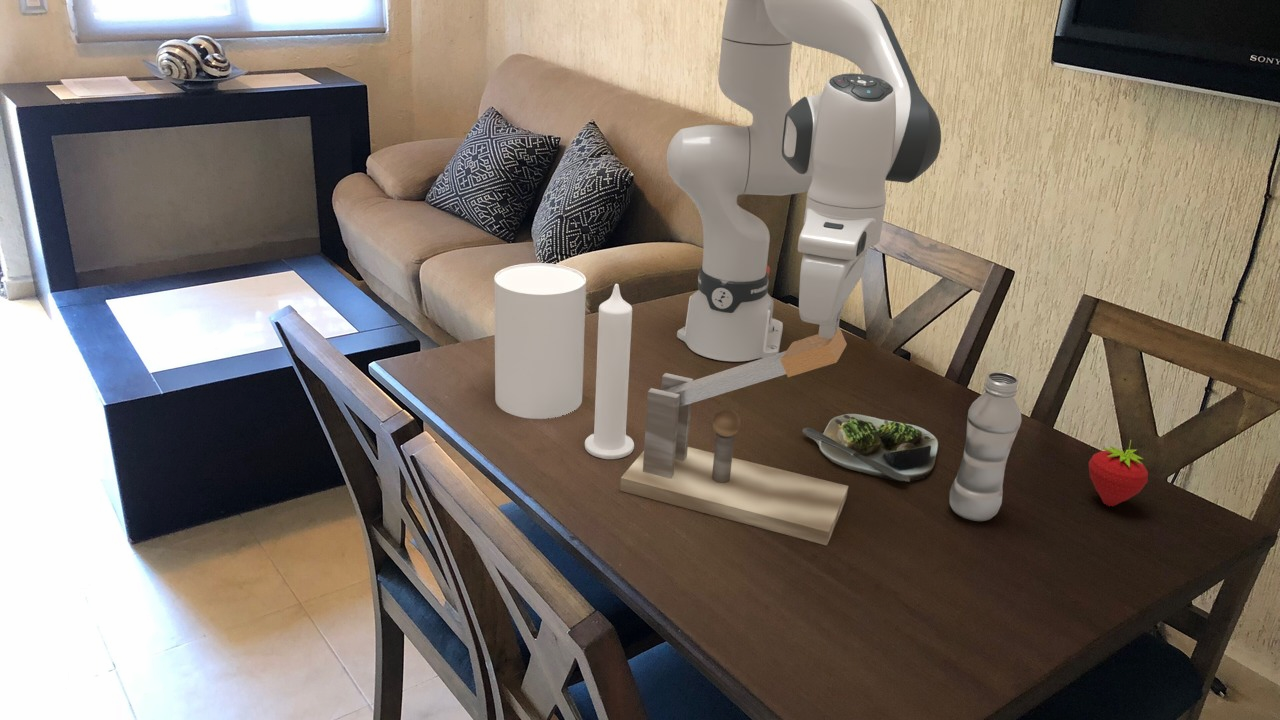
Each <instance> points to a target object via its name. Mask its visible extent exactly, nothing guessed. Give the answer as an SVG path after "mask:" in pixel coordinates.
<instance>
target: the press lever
mask: <svg viewBox="0 0 1280 720" xmlns="http://www.w3.org/2000/svg"><path fill="white" fill-rule="evenodd" d="M847 344H848V343H847V341H846V338H845V337H844V334H843V332H842V329H841V328H840V326H839V327H838V330H837V331H836V333H835V335H834V336H833V338H832V339H827V338H821V337H820V336H819V333H817V334H814V335H809V336H807V337H804V338H800V339H797V340H795V341H792V342H791V344H790V345H789V347H788V348H787V350H784V351H782V352H779V353H778V354H775V355H772V356H768V357H765V358H758V359H757V360H756V359H755V360H754V361H753V360H752V361H750V362H747V363H744V364H741V365H737V366H735V367H731V368H729V369H725V370H722V371H719V372H716V373H713V374H710V375H706V376H703V377H699V378H697V379H693V381H690V382H687V383H684V384H681V385H678V386H675V387H672V388H668V389H665V390H662V391H666V392H671V393H675V394H680V400H679V407H681V406H684V405H687V404H691V405H692V404H693V403H696V402H700V401H703V400H707V399H709V398H713V397H716V396H720V395H723V394H726V393H729V392H733V391H736V390H739V389H743V388H746V387H749V386H753V385H755V384H758V383H761V382H765V381H768V380H772V379H774V378H778V377H781V376H785V375H786V377H787V378H791V377H794V376H797V375H800V374H804V373H806V372H810V371H813V370H816V369H820V368H823V367H827V366H829V365H832V364H833V365H834V364H836V363H837V362H838V361H839V359H840V357H841V356H842V354H843V352H844V350H845V349H846V347H847Z"/></svg>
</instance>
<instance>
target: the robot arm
mask: <svg viewBox="0 0 1280 720" xmlns="http://www.w3.org/2000/svg"><path fill="white" fill-rule="evenodd" d="M899 42H900V41H899V40H898V38H897V35H896V34H895V31H894V30H893V28H892V25H891V22H890V21H889V19H888V17H887V15H886V14H885V12H884V10H883V9H882V8H881V6H879V5H878V4H877V3H876V2H874V1H873V0H727V1H726V7H725V11H724V16H723V24H722V33H721V43H720V53H719V54H720V55H719V65H718V66H719V68H718V80H717V82H718V85H719V89H720V91H721V93H722V94H723V95H724V96H725V98H727V99H728V100H730V101H731V102H733V103H734V104H736V105H738V106H739V107H741V108H743V109H745V110H746V111H747V112H749V113H750V114H751V115H752V123H751V125H747V126H741V125H739V126H737V125H722V124H721V125H719V124H703V125H695V126H690V127H684V128H681V129H680V130H678V131H677V132H676V133H675V134H674V136H673V137H672V138H671V140H670V142H669V144H668V147H667V151H666V158H665V160H666V167H667V171H668V174H669V176H670V178H671V179H672V181H673V183H674V184H675V185H677V187H679V189H681V190H682V191H683V192H684V193H685V194H686V195H687V196H688V197H689V198H690V200H691V201H692V202H693V203H694V205H695V207H696V209H697V211H698V212H699V216H700V218H701V219H700V220H701V223H702V229H703V230H702V231H703V234H702V235H703V251H702V252H703V253H702V254H703V255H702V264H701V265H702V266H700V268H699V273H698V275H697V282H698V283H697V288H698V290H697V291H695V292H694V293H692V294H691V295H690V296H689V299H688V305H687V313H686V320H685V326H683V327H682V328H680V329H678V330H677V332H676V337H677V338H678V339H680V340H681V341H683V342H684V343H685V345H687V347H688V348H689V349H690V350H691V351H692V352H693V353H695V354H697V355H700V356H702V357H704V358H708V359H713V360H715V361H716V360H717V361H722V362H746V361H747V362H748V361H753V360H754V361H755V360H756V359H757V360H759V359H762V358H765V357H768V356H772V355H775V354H778V353H780V349H781V344H782V343H781V341H782V335H783V331H784V324H783V323H784V322H783V321H780V320H778V319H776V318H773V314H774V299H773V298H772V297H771V295H770V294H769V293H768V290H769V278H768V277H769V276H770V271H771V268H770V266H769V265H768V258H769V249H770V239H771V237H770V235H771V234H770V231H769V227H768V226H767V225H766V224H765V222H764V221H763V220H762V219H761V218H759V217H758V216H756V215H754V214H753V213H751V212H750V211H747V210H746V209H743V207H741V206H739V204H738V202H737V201H738V196H741V195H756V196H757V195H759V196H760V195H761V196H788V195H795V194H800V193H806V192H807V194H806V204H805V212H804V217H803V224H802V225H803V226H802V228H801V231H800V233H799V235H798V236H799V237H798V241H797V251H798V253H803V255H802V258H801V264H800V273H799V290H798V291H799V293H798V294H799V296H798V313H799V317H800V319H801V321H802V322H804V323H809V324H815V325H819V326H818V327H819V329H818V334H819V336H820V337H821V338H827V339H832V338H833V336H834V335H835V333H836V331H837V330H838V327H840V319H841V315H842V312H843V309H844V305H845V303H846V302H847V300H848V299H849V297H850V295H851V294H852V293H853V291H854V290H855V288H856V286H857V285H858V283H859V281H860V280H861V278H862V277H863V274H864V270H865V265H866V264H865V263H866V257H867V255H868V249H869V248H870V247H874V246H876V245H878V244H879V243H880V241H881V236H882V235H881V234H882V229H883V222H884V216H885V215H884V214H885V207H886V203H887V195H886V181H887V182H897V183H905V184H908V183H909V184H910V183H911V182H912V181H915V180H916V179H917V178H919V177H920V176H921V175H923V174H924V173H925V172H927V170H928V169H930V167H931V166H932V165H933V164H934V163H935V162H936V160H937V158H938V156H939V153H940V149H941V145H942V131H941V124H940V121H939V117H938V115H937V113H936V111H935V110H934V108H933V106H932V105H931V104H930V102H929V101H928V100H927V98H926V97H925V95H924V94H923V93H922V91H921V89H920V87H919V85H918V83H917V81H916V79H915V77H914V74H913V72H912V70H911V67H910V65H909V63H908V61H907V58H906V56H905V53H904V52H903V51H904V50H902V49H903V48H901V45H900V43H899ZM793 43H795V44H798V45H801V46H805V47H808V48H812V49H817V50H819V51H820V50H821V51H824V52H827V53H830V54H833V55H836V56H838V57H841V58H842V59H846V60H847V61H850V62H851V63H853V64H854V65H855V66H857V67H858V68H859V70H861V72H862V73H842V74H837V75H834V76H832V77H830V78H829V79H828V80H827V81H826V82H825V84H824V88H823V90H822V92H820V93H817V94H814V95H809V96H803V97H802V98H800V99H799V100H797V101H796V102H795V103H794V104H793V103H792V100H791V94H790V69H791V56H792V47H793Z"/></svg>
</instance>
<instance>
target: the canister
mask: <svg viewBox="0 0 1280 720" xmlns="http://www.w3.org/2000/svg"><path fill="white" fill-rule="evenodd" d="M493 281H494V282H493V283H494V284H493V285H494V286H493V288H494V295H493V296H494V380H495V381H494V383H495V385H494V389H495V390H494V391H495V393H494V394H495V395H494V399H495V400H494V401H495V403H496V405H497V407H498V408H499V409H500V410H502V411H504V412H505V413H507V414H510V415H511V416H512V415H513V416H516V417H519V418H523V419H532V420H544V419H545V420H546V419H547V420H548V418H549V419H555V417H556V418H559V417H563V416H562V415H564V416H566V414H567V415H569V414H571V413H573V412H575V411H576V410H577V409H579V407H580V406H581V405H582V403H583V390H584V388H583V387H584V385H583V384H584V357H585V355H584V354H585V353H584V352H585V350H584V349H585V327H586V326H585V323H586V321H585V320H586V292H587V277H586V276H585V274H583V273H582V272H581V271H579V270H577V269H575V268H573V267H569V266H565V265H562V264H557V263H556V264H555V263H546V262H529V263H528V262H527V263H520V264H515V265H511V266H508V267H507V266H506V267H505V268H502V269H501V270H498V271H497V272H496V273H495V275H494V278H493ZM574 410H575V411H574ZM572 411H573V412H572ZM570 412H571V413H570ZM568 413H569V414H568Z"/></svg>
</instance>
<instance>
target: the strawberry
mask: <svg viewBox="0 0 1280 720" xmlns="http://www.w3.org/2000/svg"><path fill="white" fill-rule="evenodd" d="M1131 444H1132V439H1130V440H1129V445H1128V449H1126V450H1125V452H1124V450H1121V449H1119V448H1117V447H1114V446H1112V445H1109V447H1110V448H1107V447H1102V450H1101V451H1098V452H1097V453H1094V454H1093V455H1092V457H1091V458H1090V460H1089V461H1088V473H1089V478H1090V480H1091V481H1092V484H1093V486H1094V489H1095V490H1096V492H1097V494H1098V495H1099V497H1100V499H1101V501H1102V503H1103V504H1104V505H1105V504H1106V505H1105V506H1107V505H1108V506H1107V507H1110V506H1112V507H1115V506H1116V505H1118V504H1121V503H1122V502H1126V501H1128V500H1129V499H1131V498H1132V497H1134V496H1136V495H1137V494H1139V493H1141V491H1142V489H1144V487H1145V486H1146V485H1147V483H1148V481H1149V479H1148V478H1149V471H1148V470H1147V468H1146V466H1145V465H1144V464H1143V462H1142V461H1140V460H1144V457H1141V456H1139V455H1137V454H1135V452H1136V451H1137V449H1131Z"/></svg>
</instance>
